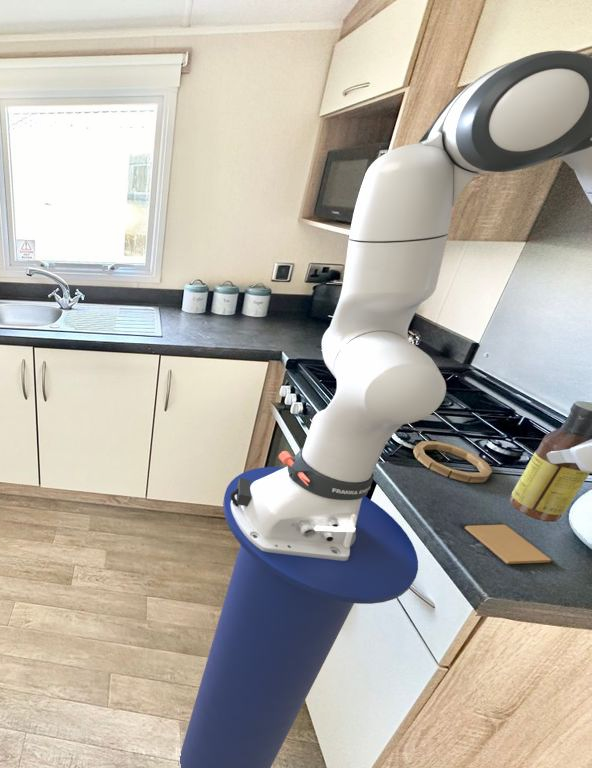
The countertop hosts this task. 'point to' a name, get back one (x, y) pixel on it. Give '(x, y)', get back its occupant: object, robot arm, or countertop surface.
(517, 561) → the cork coaster
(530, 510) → the sauce bottle
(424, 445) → the birch ring
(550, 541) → the countertop surface
